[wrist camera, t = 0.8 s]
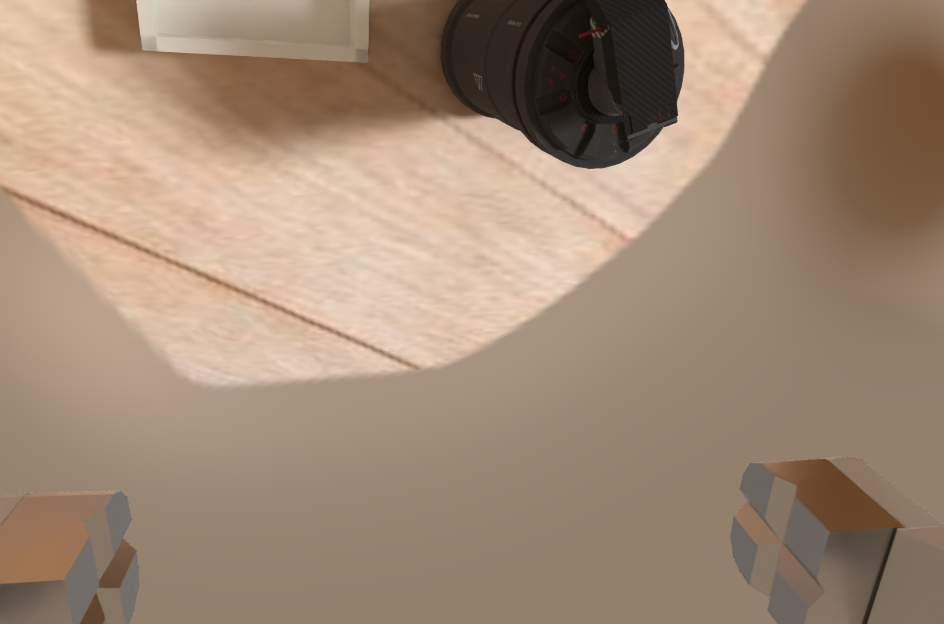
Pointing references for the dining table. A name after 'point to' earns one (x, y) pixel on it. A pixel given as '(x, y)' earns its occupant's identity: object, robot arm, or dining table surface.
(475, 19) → the grenade
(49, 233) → the dining table surface
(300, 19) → the box
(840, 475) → the robot arm
